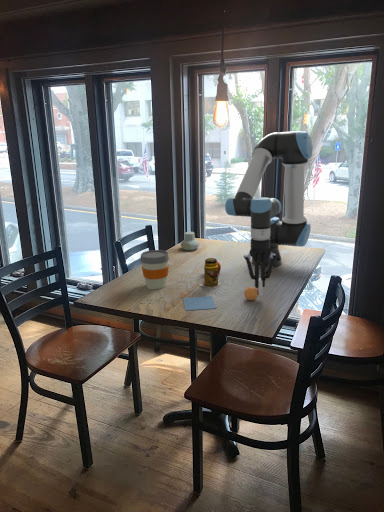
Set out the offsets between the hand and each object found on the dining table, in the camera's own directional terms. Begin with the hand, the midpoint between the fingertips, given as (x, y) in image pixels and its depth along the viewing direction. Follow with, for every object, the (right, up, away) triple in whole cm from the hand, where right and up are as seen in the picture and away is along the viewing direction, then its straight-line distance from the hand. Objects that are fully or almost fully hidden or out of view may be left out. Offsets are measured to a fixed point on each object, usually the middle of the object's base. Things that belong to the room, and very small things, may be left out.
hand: (259, 294), depth 162 cm
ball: (-3, 0, 0) cm, 4 cm away
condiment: (-19, +3, +19) cm, 27 cm away
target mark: (-24, -3, -1) cm, 25 cm away
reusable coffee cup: (-43, +2, +20) cm, 48 cm away
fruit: (-17, +6, +31) cm, 36 cm away
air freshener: (-28, +19, +75) cm, 82 cm away
